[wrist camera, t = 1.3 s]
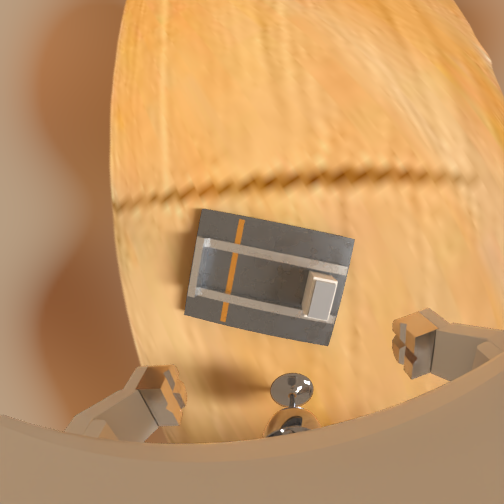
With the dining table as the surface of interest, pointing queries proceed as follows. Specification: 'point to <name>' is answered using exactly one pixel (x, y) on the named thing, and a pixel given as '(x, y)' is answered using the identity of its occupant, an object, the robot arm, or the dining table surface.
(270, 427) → the wine glass
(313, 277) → the fader tab
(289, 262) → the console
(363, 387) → the dining table surface
